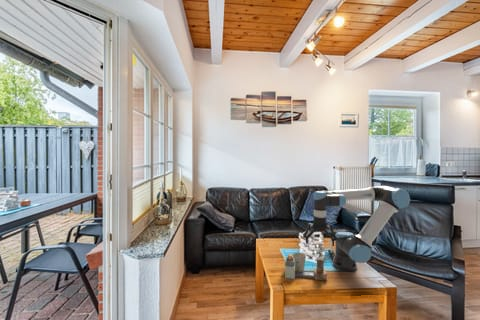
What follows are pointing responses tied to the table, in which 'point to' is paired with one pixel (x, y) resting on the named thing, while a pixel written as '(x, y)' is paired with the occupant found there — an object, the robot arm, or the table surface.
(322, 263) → the carriage
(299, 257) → the mug
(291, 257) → the plunger
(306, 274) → the rail
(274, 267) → the table surface
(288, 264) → the cabinet
